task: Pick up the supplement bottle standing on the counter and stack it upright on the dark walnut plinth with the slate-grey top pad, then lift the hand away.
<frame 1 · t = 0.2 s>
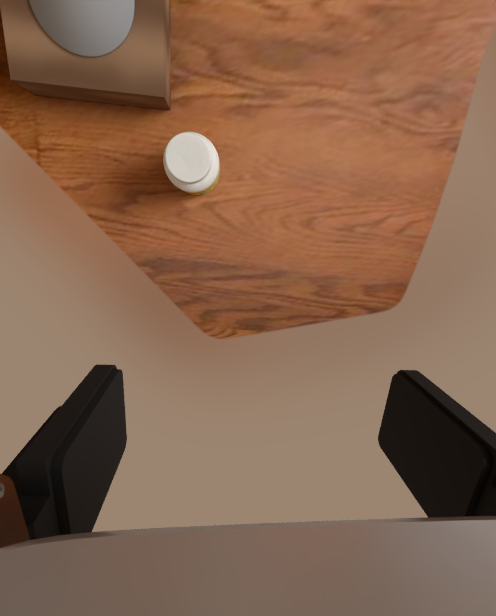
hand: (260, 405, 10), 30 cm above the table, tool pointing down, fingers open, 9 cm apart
supplement bottle: (196, 171, 36), on the table
walnut plinth: (99, 22, 30), on the table
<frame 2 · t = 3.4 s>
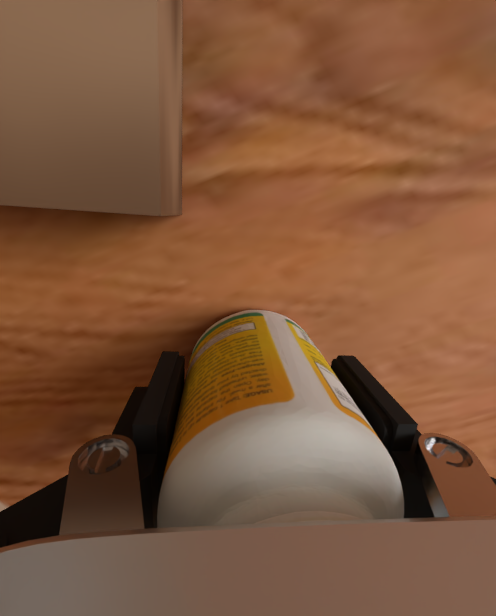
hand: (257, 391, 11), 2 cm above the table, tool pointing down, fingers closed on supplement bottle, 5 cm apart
supplement bottle: (251, 362, 13), on the table, touching gripper
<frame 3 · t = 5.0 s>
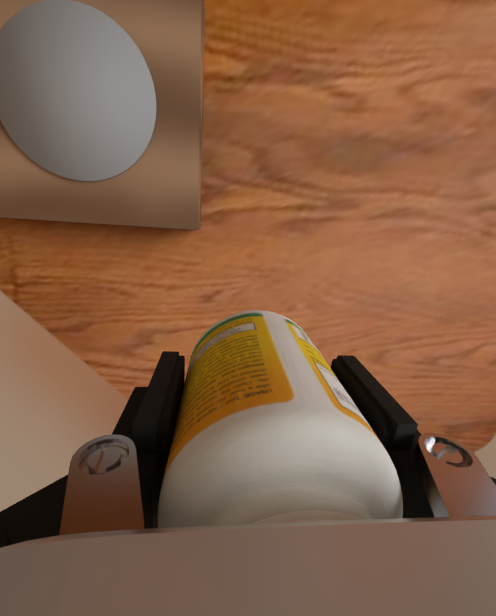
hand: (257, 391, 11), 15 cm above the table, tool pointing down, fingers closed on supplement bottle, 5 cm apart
supplement bottle: (251, 363, 13), point 13 cm above the table, touching gripper
walnut plinth: (103, 120, 21), on the table
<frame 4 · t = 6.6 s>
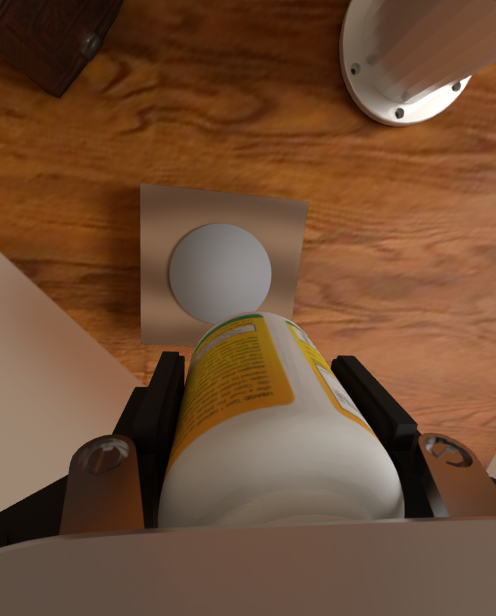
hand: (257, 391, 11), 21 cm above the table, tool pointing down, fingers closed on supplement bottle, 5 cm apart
supplement bottle: (251, 364, 13), point 19 cm above the table, touching gripper
walnut plinth: (220, 268, 31), on the table
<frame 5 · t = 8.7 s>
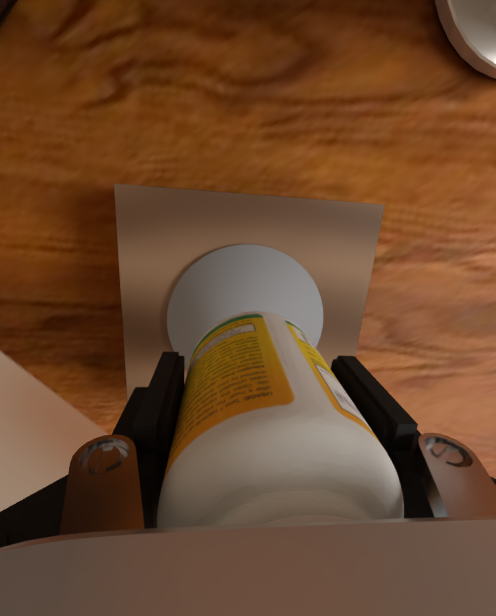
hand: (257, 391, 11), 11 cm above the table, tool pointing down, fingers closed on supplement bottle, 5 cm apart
supplement bottle: (251, 364, 13), point 9 cm above the table, touching gripper
walnut plinth: (242, 302, 21), on the table
when the fingers open (7 cm above the table, at t = 10.3 s): supplement bottle stays where it is, resting on walnut plinth.
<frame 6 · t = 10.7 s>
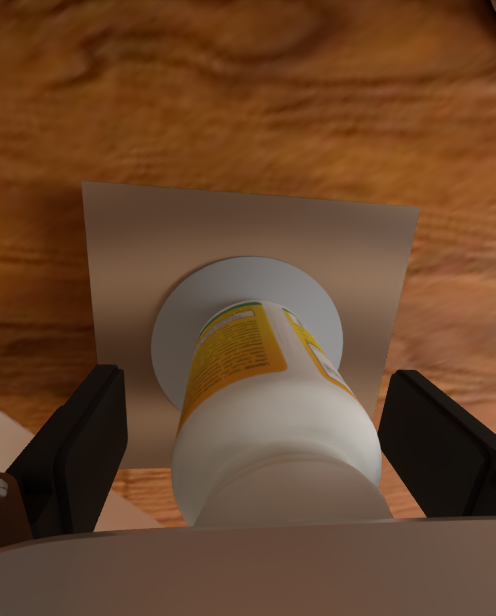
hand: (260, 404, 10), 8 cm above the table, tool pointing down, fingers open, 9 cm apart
supplement bottle: (251, 349, 14), point 4 cm above the table, touching walnut plinth
walnut plinth: (243, 321, 18), on the table
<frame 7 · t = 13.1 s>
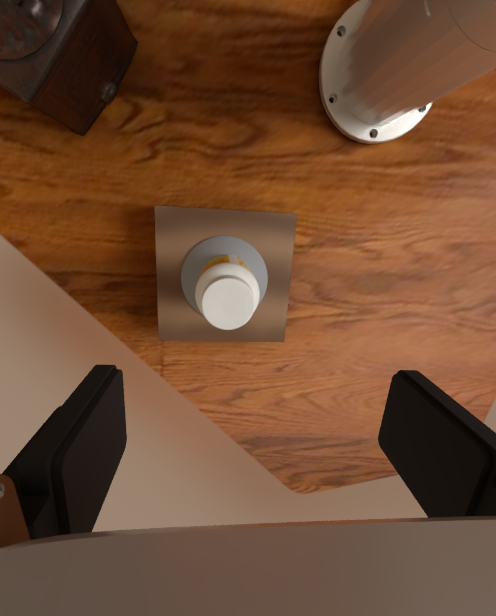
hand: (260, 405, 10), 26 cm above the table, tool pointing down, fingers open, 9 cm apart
supplement bottle: (225, 278, 31), point 4 cm above the table, touching walnut plinth
pepper mill: (80, 30, 28), on the table
walnut plinth: (224, 272, 35), on the table
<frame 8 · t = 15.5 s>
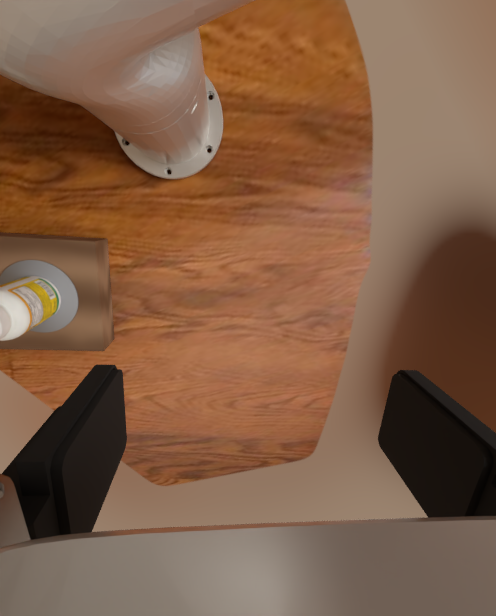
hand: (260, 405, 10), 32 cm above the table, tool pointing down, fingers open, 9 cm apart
supplement bottle: (39, 296, 36), point 4 cm above the table, touching walnut plinth
walnut plinth: (56, 289, 40), on the table
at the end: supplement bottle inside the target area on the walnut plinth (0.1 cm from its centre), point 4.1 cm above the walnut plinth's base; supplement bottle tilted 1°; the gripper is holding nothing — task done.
